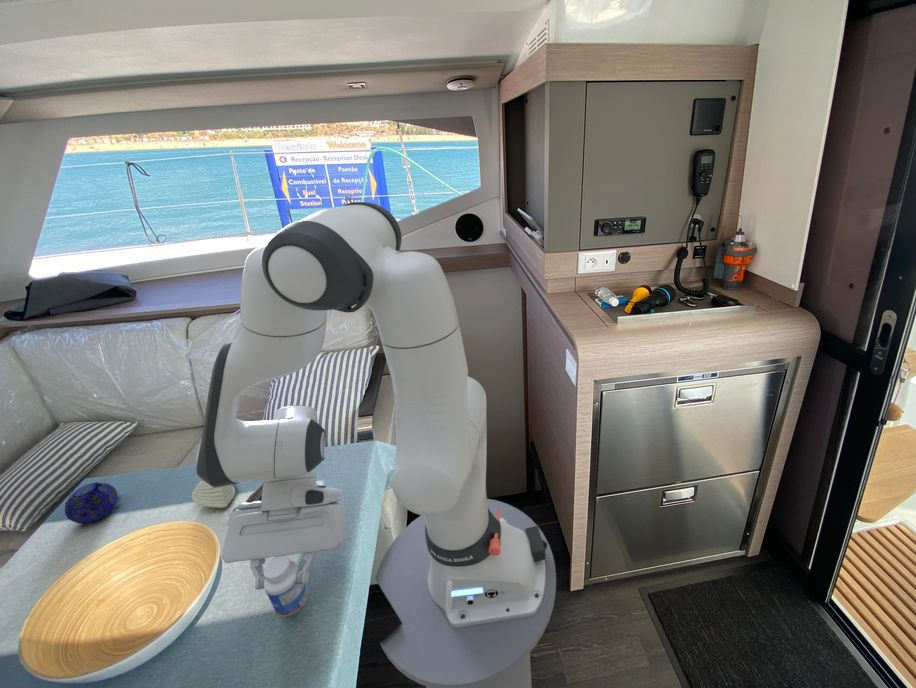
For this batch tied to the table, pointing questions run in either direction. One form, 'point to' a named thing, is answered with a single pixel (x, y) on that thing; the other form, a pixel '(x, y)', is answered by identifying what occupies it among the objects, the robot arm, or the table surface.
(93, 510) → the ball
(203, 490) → the seashell
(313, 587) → the table surface
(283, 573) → the pill bottle
